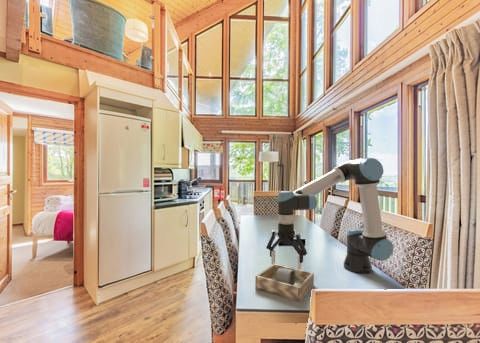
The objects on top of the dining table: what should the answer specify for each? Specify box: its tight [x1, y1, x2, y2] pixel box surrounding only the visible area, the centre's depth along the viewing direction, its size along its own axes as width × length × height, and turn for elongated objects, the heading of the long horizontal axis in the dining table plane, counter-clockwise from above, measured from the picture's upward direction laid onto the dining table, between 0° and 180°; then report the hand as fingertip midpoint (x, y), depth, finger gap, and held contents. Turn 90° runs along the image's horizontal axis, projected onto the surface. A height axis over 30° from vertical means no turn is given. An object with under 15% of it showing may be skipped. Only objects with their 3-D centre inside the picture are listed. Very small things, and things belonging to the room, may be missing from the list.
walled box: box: [254, 263, 315, 303], centre depth 122 cm, size 22×20×6 cm
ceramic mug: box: [275, 268, 296, 285], centre depth 121 cm, size 11×8×8 cm
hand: (286, 266), depth 122 cm, fingers open, 13 cm apart
